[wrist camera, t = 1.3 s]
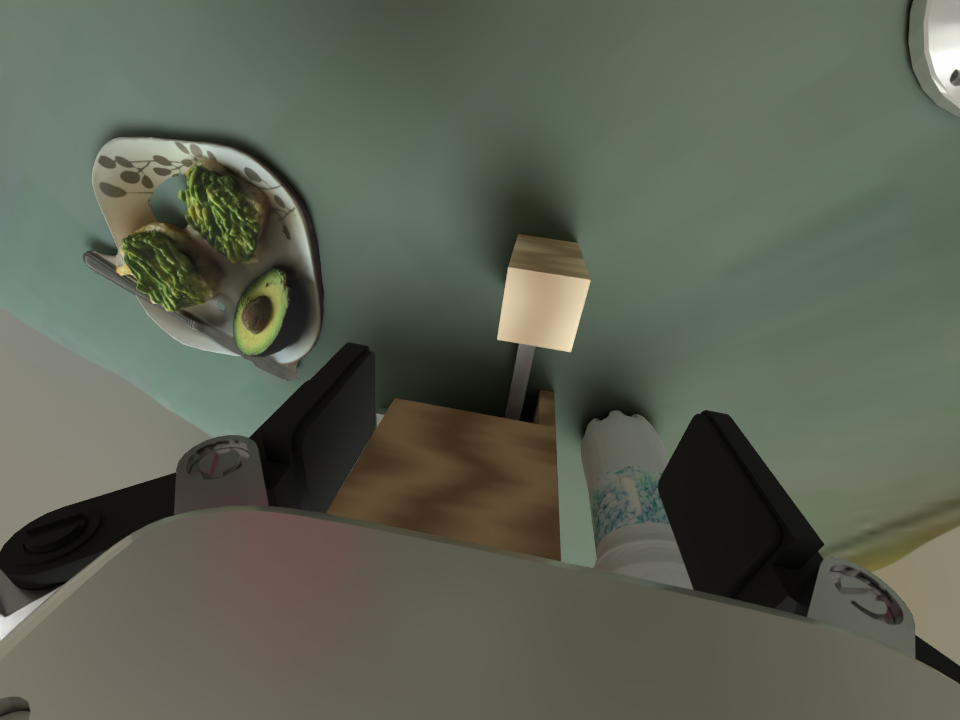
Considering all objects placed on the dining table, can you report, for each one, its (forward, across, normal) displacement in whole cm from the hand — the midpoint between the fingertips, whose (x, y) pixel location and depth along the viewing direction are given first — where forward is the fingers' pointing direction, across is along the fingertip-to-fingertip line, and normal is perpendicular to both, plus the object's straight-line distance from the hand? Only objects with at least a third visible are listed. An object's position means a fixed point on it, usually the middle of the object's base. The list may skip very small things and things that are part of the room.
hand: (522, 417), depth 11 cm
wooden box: (+17, +2, +17) cm, 24 cm away
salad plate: (+18, +23, +4) cm, 30 cm away
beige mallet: (+17, -1, +10) cm, 20 cm away
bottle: (+17, -10, +13) cm, 24 cm away
